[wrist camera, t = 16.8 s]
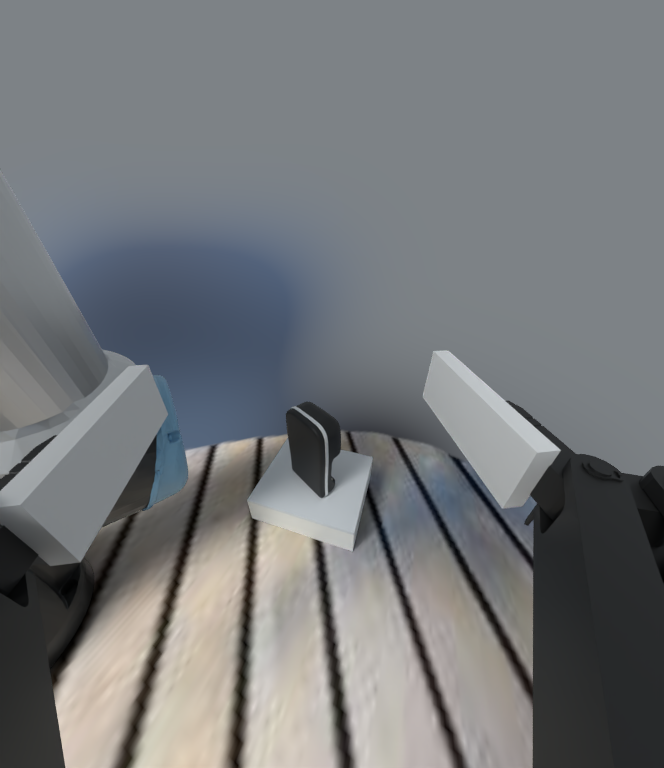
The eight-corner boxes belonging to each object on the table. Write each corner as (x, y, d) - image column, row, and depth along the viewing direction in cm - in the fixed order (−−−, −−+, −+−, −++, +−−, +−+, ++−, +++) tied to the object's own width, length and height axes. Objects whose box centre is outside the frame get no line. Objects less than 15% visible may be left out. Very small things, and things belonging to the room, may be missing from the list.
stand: (252, 518, 36) (247, 499, 34) (290, 454, 46) (288, 437, 44) (352, 551, 33) (354, 533, 30) (370, 474, 42) (373, 457, 40)
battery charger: (343, 484, 36) (346, 418, 30) (322, 502, 34) (320, 434, 28) (311, 455, 40) (307, 393, 34) (290, 469, 38) (282, 405, 32)
